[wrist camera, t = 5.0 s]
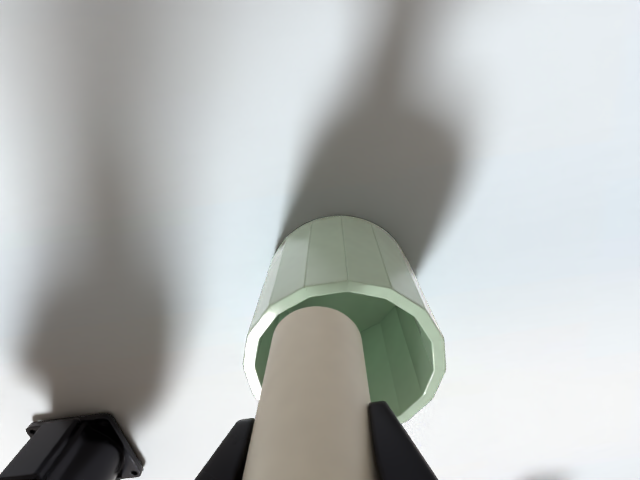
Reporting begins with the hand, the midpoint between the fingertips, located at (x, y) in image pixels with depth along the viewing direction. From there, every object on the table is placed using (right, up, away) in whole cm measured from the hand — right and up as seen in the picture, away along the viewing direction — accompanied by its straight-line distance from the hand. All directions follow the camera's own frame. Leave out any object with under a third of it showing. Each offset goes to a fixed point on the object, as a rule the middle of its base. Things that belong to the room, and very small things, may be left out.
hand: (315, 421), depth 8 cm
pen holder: (+1, +2, +12) cm, 12 cm away
